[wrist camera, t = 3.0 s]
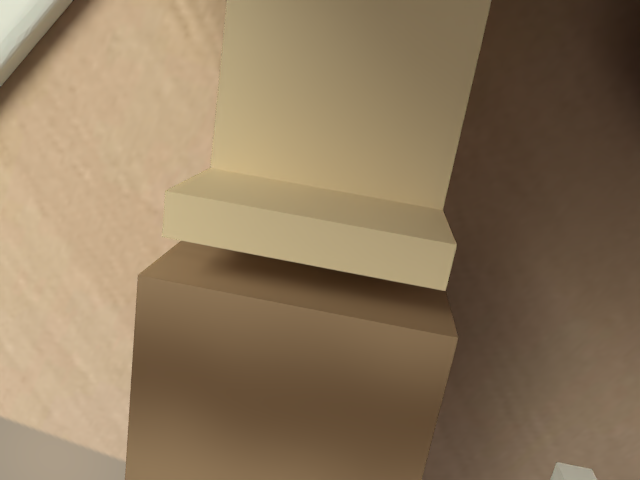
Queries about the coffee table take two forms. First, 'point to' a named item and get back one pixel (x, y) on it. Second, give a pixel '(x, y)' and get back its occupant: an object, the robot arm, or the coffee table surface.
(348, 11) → the wall board
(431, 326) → the cabinet
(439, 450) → the coffee table surface
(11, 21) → the external hard drive
